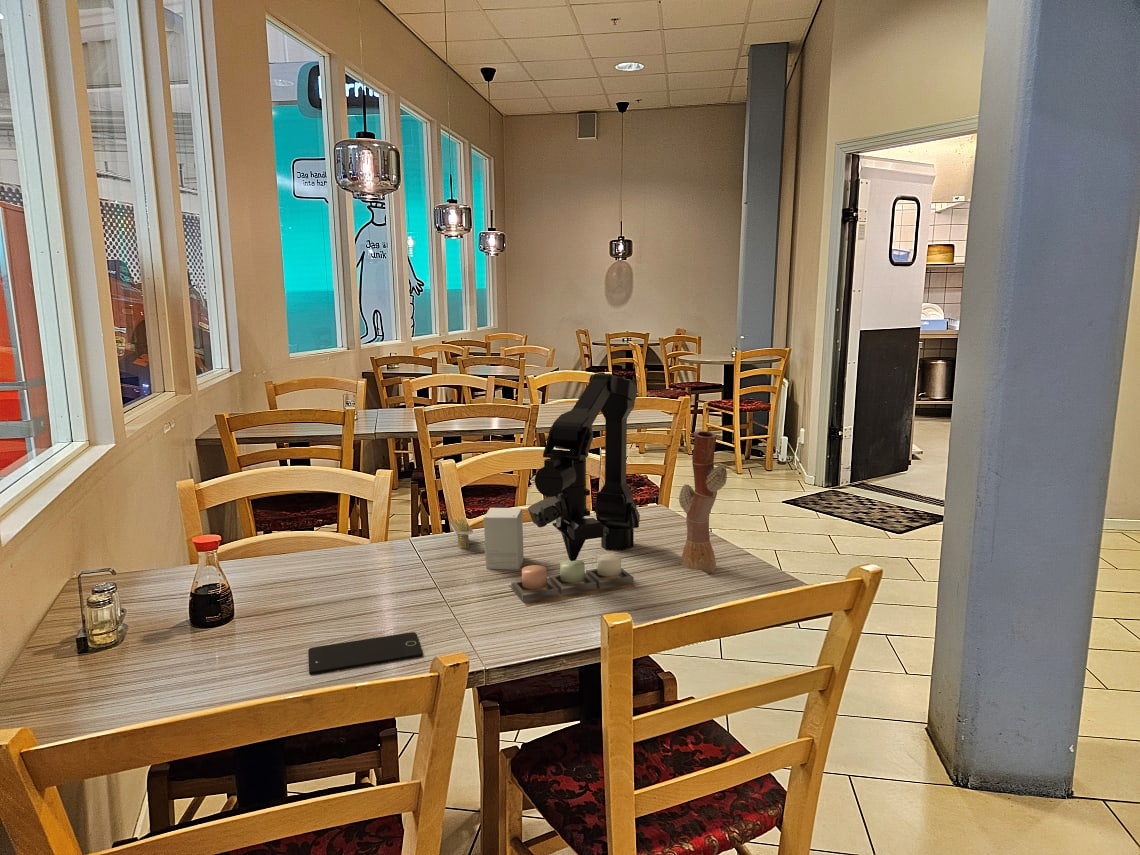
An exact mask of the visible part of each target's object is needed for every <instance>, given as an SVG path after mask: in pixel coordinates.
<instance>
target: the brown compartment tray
mask: <svg viewBox="0 0 1140 855" xmlns="http://www.w3.org/2000/svg"><path fill="white" fill-rule="evenodd" d="M508 587H509V588H511V590H512V592H514V594H515V595H516V596H517V597H518V598H519V600H520V601H521V602H522V603H523V604H524V605H525V606H526V607H531V606H537V605H542V604H548V603H554V602H559V601H561V602H562V601H565V600H566V601H568V600H572V599H577V598H583V597H589V596H594V595H595V596H596V595H601V594H606V593H612V592H617V591H624V590H631V589H636V588H638V586H636V585H635V584H634V576H633V575H632V574H630V573H629V572H628V571H626V570H625V569H623V568H622V567H621V574H620V575H618V576H613V577H606V576H601V575H599V574H598V573H597V568H592V569H585V579H584V580H583V581H581V582H576V583H568V582H564V581H562V580H561V578H560V573H559V574H554V575H549V577H548V578H547V585H546V586H545V587H543V588H540V589H528V588H525V587H523V586H522V579H521V580H516V581H511V582H510V585H508Z"/></svg>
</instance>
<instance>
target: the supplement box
mask: <svg viewBox="0 0 1140 855" xmlns="http://www.w3.org/2000/svg"><path fill="white" fill-rule="evenodd" d="M523 524H524V523H523V508H522V507H489V509H488V510H487V511H486V514H485V515H484V516H483V528H484V529H483V531H484V533H483V534H484V535H483V536H484V554H485V556H484V557H485V569H486V570H520V568H521V566H522V565H523V562H524V558H525V557H524V556H525V554H524V553H525V552H524V533H523V532H524V530H523V529H524V528H523V526H524V525H523Z"/></svg>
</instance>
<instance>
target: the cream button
mask: <svg viewBox="0 0 1140 855" xmlns="http://www.w3.org/2000/svg"><path fill="white" fill-rule="evenodd" d="M596 564H597V565H596V567H597V568H596V569H597V573H598V574H599V575H601V576H606V577H613V576H618V575H620V574H621V568H622V557H621V555H619V554H618V555H617V554H612V553H606V554H605V553H604V554H600V555H598V556H597V557H596Z"/></svg>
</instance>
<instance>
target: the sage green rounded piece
mask: <svg viewBox="0 0 1140 855" xmlns="http://www.w3.org/2000/svg"><path fill="white" fill-rule="evenodd" d="M585 564H586V563H585V562H584V561H582V560H580V559H576V560H575V561H570V560H569V559H565V560H562V561H561V562H560V564H559V565H560V566H559V568H560V570H559V572H560V573H559V574H560V578H561V580H562V581H564V582H568V583H576V582H581V581H583V580H584V579H585V573H586V569H585Z"/></svg>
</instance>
